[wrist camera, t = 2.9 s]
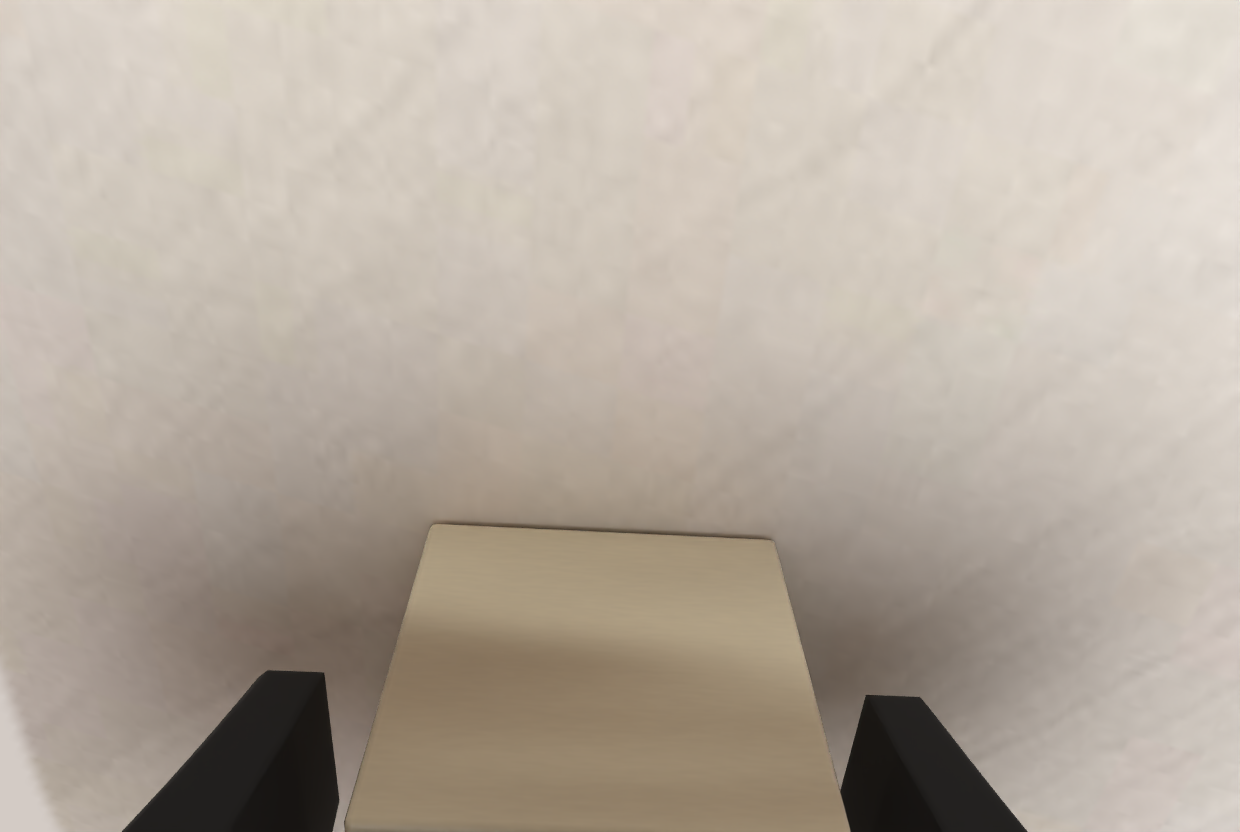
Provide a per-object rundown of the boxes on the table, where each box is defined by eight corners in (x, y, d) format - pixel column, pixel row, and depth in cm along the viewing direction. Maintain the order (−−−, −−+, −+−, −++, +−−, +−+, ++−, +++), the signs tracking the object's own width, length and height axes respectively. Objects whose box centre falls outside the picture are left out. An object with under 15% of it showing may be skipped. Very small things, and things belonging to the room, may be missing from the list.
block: (732, 773, 13) (780, 1105, 9) (439, 762, 12) (373, 1097, 9) (775, 537, 11) (857, 841, 7) (430, 520, 11) (340, 825, 7)
